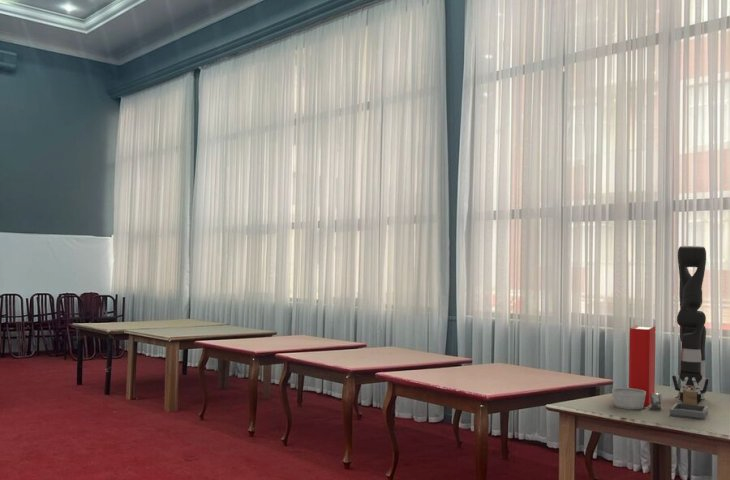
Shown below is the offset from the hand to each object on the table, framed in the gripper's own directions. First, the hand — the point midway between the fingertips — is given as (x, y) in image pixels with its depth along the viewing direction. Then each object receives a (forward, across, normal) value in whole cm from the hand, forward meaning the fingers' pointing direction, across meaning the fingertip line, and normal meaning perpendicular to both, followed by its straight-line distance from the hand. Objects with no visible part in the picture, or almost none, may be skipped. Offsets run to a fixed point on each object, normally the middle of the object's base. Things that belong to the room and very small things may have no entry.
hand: (690, 402), depth 286 cm
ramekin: (+4, +23, +4) cm, 24 cm away
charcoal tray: (+4, 0, +4) cm, 5 cm away
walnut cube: (0, 0, 0) cm, 0 cm away
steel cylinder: (+4, +13, 0) cm, 14 cm away
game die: (+4, +3, -18) cm, 18 cm away
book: (+4, +21, -17) cm, 28 cm away
